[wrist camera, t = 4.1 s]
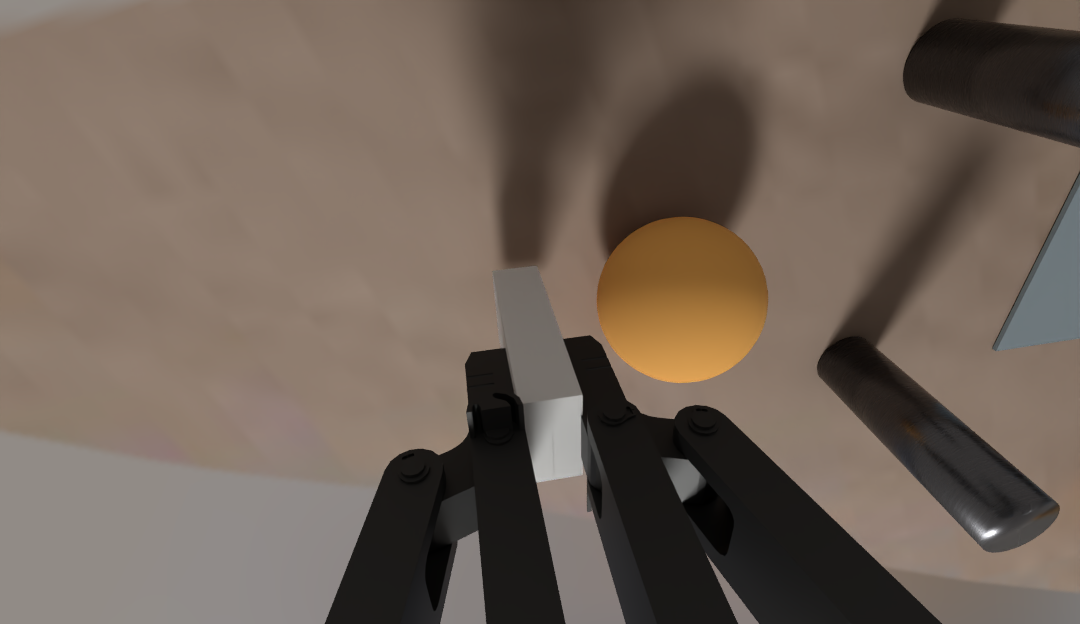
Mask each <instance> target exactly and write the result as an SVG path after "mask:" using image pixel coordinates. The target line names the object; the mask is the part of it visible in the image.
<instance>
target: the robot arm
mask: <svg viewBox="0 0 1080 624" xmlns="http://www.w3.org/2000/svg"><path fill="white" fill-rule="evenodd" d="M492 275H493V285H494V295H495V304H496V314H497V324H498V334H499V341H500V347H501V349H493V350H486V351H478V352H471V354H470V356H469V358H468V360H467V362H466V363H465V369H466V381H467V393H468V406H467V411H466V414H467V421H468V427H469V433H468V435H467V437H466V438H465V439H464V441H463V442H462V443H461V444H459V445H458V446H457V447H455V448H453V449H452V450H450V451H448V452H445V453H443V454H441V455H437V454H436V453H434V452H433V451H431V450H426V449H414V450H409V451H406V452H404V453H402V454H399V455H398V456H397V457H395V458H394V459H393V460H392V461H390V463H389V465H388V466H387V468H386V469H385V471H384V474H383V476H382V479H381V481H380V484H379V487H378V489H377V492H376V494H375V497H374V499H373V502H372V504H371V507H370V510H369V512H368V515H367V517H366V520H365V522H364V525H363V527H362V530H361V533H360V535H359V538H358V541H357V543H356V546H355V548H354V550H353V553H352V556H351V558H350V561H349V563H348V566H347V569H346V571H345V574H344V576H343V579H342V581H341V584H340V587H339V589H338V591H337V594H336V597H335V599H334V602H333V604H332V607H331V609H330V612H329V615H328V617H327V620H326V622H325V624H440V621H441V617H442V612H443V608H444V603H445V598H446V594H447V589H448V585H449V580H450V576H451V571H452V567H453V562H454V557H455V553H456V548H457V540H459V539H461V538H463V537H465V536H467V535H469V534H471V533H473V532H476V531H477V530H478V531H479V544H480V555H481V567H482V577H483V589H484V600H485V612H486V623H487V624H565V620H564V614H563V610H562V605H561V600H560V595H559V590H558V585H557V580H556V576H555V571H554V567H553V561H552V557H551V552H550V547H549V542H548V537H547V532H546V527H545V523H544V518H543V513H542V508H541V503H540V498H539V494H538V489H537V484H536V483H537V482H543V481H549V480H555V479H561V478H567V477H573V476H579V475H583V465H584V468H585V472H586V475H587V512H590V511H592V510H593V513H594V517H595V520H596V523H597V527H598V530H599V534H600V537H601V540H602V544H603V547H604V551H605V554H606V558H607V561H608V564H609V567H610V571H611V575H612V578H613V581H614V585H615V588H616V592H617V595H618V598H619V602H620V605H621V609H622V612H623V616H624V619H625V622H626V624H738V623H737V620H736V618H735V616H734V614H733V612H732V610H731V607H730V605H729V603H728V601H727V599H726V597H725V594H724V592H723V590H722V588H721V586H720V584H719V582H718V579H717V577H716V575H715V573H714V571H713V569H712V566H711V564H710V562H709V560H708V558H707V556H708V557H709V558H710V559H711V561H712V562H713V563H714V565H715V566H716V567H717V569H718V570H719V571H720V573H721V574H722V575H723V577H724V578H725V579H726V581H727V582H728V583H729V584H730V586H731V587H732V588H733V590H734V591H735V592H736V594H737V595H738V596H739V598H740V599H741V600H742V602H743V603H744V604H745V605H746V607H747V608H748V609H749V611H750V612H751V613H752V615H753V616H754V617H755V619H756V620H757V621H758V622H759V624H942V623H941V622H940V621H939V620H938V619H937V618H936V617H934V616H933V615H932V614H931V613H930V612H929V611H928V610H927V609H926V608H925V607H924V606H923V605H922V604H921V603H920V602H919V601H918V600H917V599H916V598H915V597H914V596H913V595H912V594H911V593H910V592H909V591H907V590H906V589H905V588H904V587H903V586H902V585H901V584H900V583H899V582H898V581H897V580H896V579H895V578H894V577H893V576H892V575H891V574H890V573H889V572H888V571H887V570H886V569H885V568H884V567H883V566H881V565H880V564H879V563H878V562H877V561H876V560H875V559H874V558H873V557H872V556H871V555H870V554H869V553H868V552H867V551H866V550H865V549H864V548H863V547H862V546H861V545H860V544H859V543H858V542H856V541H855V540H854V539H853V538H852V537H851V536H850V535H849V534H848V533H847V532H846V531H845V530H844V529H843V528H842V527H841V526H840V525H839V524H838V523H837V522H836V521H835V520H834V519H833V518H832V517H830V516H829V515H828V514H827V513H826V512H825V511H824V510H823V509H822V508H821V507H820V506H819V505H818V504H817V503H816V502H815V501H814V500H813V499H812V498H811V497H810V496H809V495H808V494H807V493H806V492H804V491H803V490H802V489H801V488H800V487H799V486H798V485H797V484H796V483H795V482H794V481H793V480H792V479H791V478H790V477H789V476H788V475H787V474H786V473H785V472H784V471H783V470H782V469H781V468H779V467H778V466H777V465H776V464H775V463H774V462H773V461H772V460H771V459H770V458H769V457H768V456H767V455H766V454H765V453H764V452H763V451H762V450H761V449H760V448H759V447H758V446H757V445H756V444H755V443H753V442H752V441H751V440H750V439H749V438H748V437H747V436H746V435H745V434H744V433H743V432H742V431H741V430H740V429H739V428H738V427H737V426H736V425H735V424H734V423H733V422H732V421H731V420H730V419H729V418H727V417H726V416H725V415H724V414H722V413H721V412H720V411H718V410H716V409H714V408H711V407H708V406H700V405H694V406H689V407H685V408H684V409H682V410H680V411H679V412H678V413H677V415H676V417H675V419H666V418H657V417H651V416H647V415H645V414H642V413H640V411H639V410H638V409H637V408H636V406H635V405H633V404H631V403H630V402H628V401H627V400H626V398H625V396H624V393H623V391H622V389H621V387H620V385H619V382H618V380H617V378H616V376H615V373H614V371H613V369H612V367H611V364H610V362H609V360H608V358H607V356H606V353H605V351H604V349H603V347H602V345H601V344H600V343H599V342H598V341H597V340H595V339H594V338H593V337H592V336H590V335H589V336H582V337H574V338H567V339H563V338H562V335H561V332H560V329H559V326H558V324H557V321H556V318H555V315H554V312H553V309H552V307H551V304H550V301H549V298H548V295H547V292H546V290H545V287H544V284H543V281H542V278H541V275H540V273H539V270H538V267H537V266H529V267H521V268H512V269H504V270H495V271H492ZM706 554H707V556H706Z"/></svg>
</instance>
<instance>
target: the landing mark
mask: <svg viewBox="0 0 1080 624" xmlns="http://www.w3.org/2000/svg"><path fill="white" fill-rule="evenodd" d="M1078 338H1080V174H1079V176H1078V178H1077V180H1076V182H1075V184H1074V186H1073V188H1072V190H1071V192H1070V194H1069V196H1068V198H1067V200H1066V202H1065V204H1064V206H1063V208H1062V210H1061V212H1060V214H1059V216H1058V218H1057V220H1056V222H1055V224H1054V226H1053V228H1052V230H1051V232H1050V234H1049V236H1048V238H1047V240H1046V242H1045V244H1044V246H1043V248H1042V250H1041V252H1040V254H1039V256H1038V258H1037V260H1036V262H1035V264H1034V266H1033V268H1032V270H1031V272H1030V274H1029V276H1028V278H1027V280H1026V282H1025V284H1024V286H1023V288H1022V290H1021V292H1020V294H1019V296H1018V298H1017V300H1016V302H1015V304H1014V306H1013V308H1012V310H1011V312H1010V314H1009V316H1008V318H1007V320H1006V322H1005V324H1004V326H1003V328H1002V330H1001V332H1000V334H999V336H998V338H997V340H996V342H995V344H994V346H993V348H992V349H994V350H995V351H1000V350H1007V349H1013V348H1020V347H1026V346H1033V345H1039V344H1046V343H1052V342H1059V341H1065V340H1072V339H1078Z"/></svg>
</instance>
